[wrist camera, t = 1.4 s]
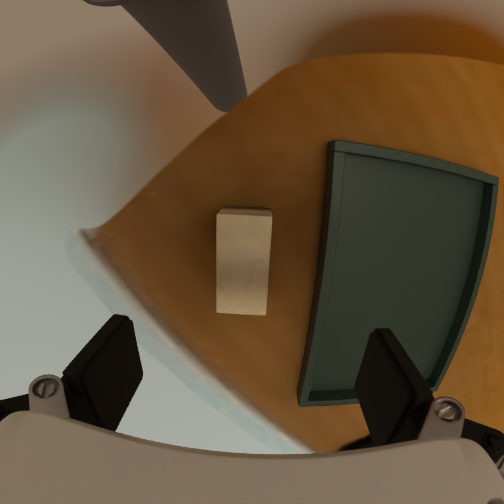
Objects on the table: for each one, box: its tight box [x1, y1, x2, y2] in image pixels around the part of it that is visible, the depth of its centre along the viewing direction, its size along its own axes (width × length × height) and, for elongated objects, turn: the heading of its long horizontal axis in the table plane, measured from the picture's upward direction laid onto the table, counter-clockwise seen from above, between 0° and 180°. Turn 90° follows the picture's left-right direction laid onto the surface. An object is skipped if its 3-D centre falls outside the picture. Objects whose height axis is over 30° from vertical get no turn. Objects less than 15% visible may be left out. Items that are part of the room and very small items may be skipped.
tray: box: [297, 140, 499, 407], centre depth 22 cm, size 24×17×2 cm
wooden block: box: [216, 206, 272, 315], centre depth 20 cm, size 7×4×4 cm, turn 178°
